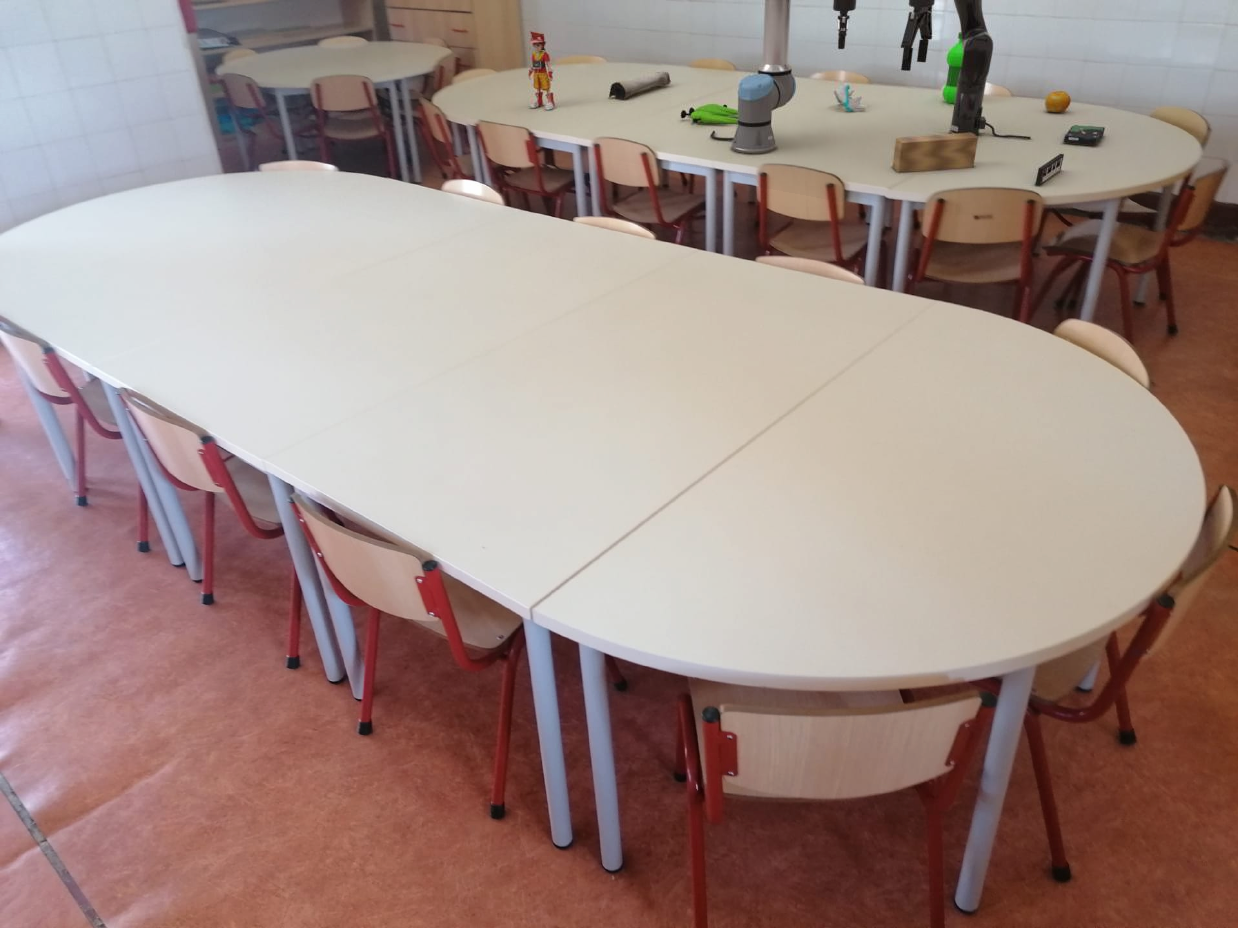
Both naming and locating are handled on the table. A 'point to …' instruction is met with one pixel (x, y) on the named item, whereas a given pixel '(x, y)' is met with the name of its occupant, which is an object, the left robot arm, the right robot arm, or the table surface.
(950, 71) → the plastic bottle
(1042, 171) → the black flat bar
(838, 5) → the right robot arm
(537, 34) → the toy
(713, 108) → the toy
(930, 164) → the box
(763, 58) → the left robot arm
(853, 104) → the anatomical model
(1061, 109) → the fruit
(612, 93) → the rolled mat
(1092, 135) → the disk drive
